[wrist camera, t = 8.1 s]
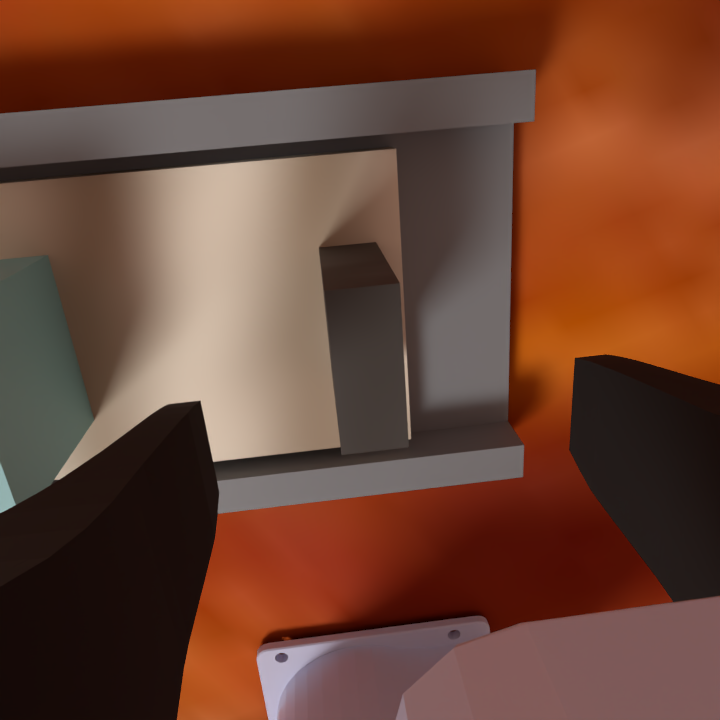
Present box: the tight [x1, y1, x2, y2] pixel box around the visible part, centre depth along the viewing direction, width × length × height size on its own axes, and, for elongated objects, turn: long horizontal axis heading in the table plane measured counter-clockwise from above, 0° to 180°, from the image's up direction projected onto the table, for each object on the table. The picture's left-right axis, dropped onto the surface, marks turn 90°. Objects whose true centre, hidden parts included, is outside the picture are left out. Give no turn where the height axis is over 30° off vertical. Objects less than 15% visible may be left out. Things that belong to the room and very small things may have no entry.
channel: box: [0, 69, 536, 514], centre depth 18 cm, size 30×12×2 cm, turn 94°
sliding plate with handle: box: [0, 147, 411, 480], centre depth 15 cm, size 17×9×5 cm, turn 94°
